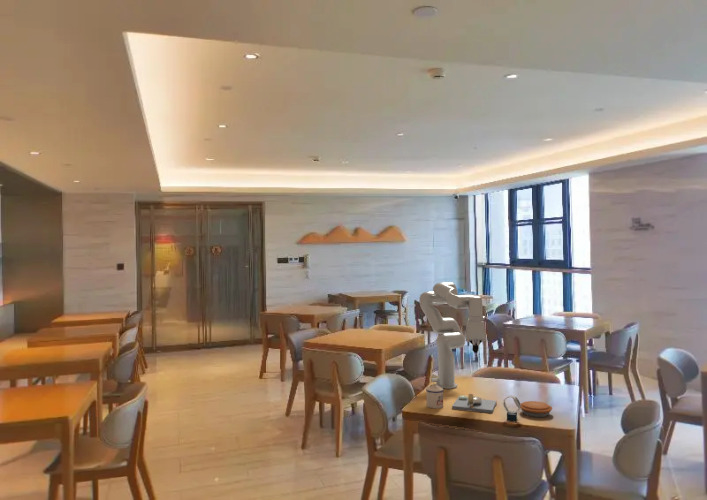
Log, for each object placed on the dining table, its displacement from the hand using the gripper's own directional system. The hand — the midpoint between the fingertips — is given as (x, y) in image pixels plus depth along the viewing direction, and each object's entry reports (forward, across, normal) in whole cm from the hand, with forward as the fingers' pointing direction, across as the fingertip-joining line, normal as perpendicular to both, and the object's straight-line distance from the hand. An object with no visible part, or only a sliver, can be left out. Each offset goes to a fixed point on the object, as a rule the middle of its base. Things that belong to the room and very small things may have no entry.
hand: (475, 352), depth 289 cm
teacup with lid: (+25, +24, +16) cm, 38 cm away
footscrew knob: (+23, +5, +19) cm, 30 cm away
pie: (+25, -24, +29) cm, 45 cm away
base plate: (+25, +4, +17) cm, 30 cm away
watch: (+25, -10, +38) cm, 46 cm away
